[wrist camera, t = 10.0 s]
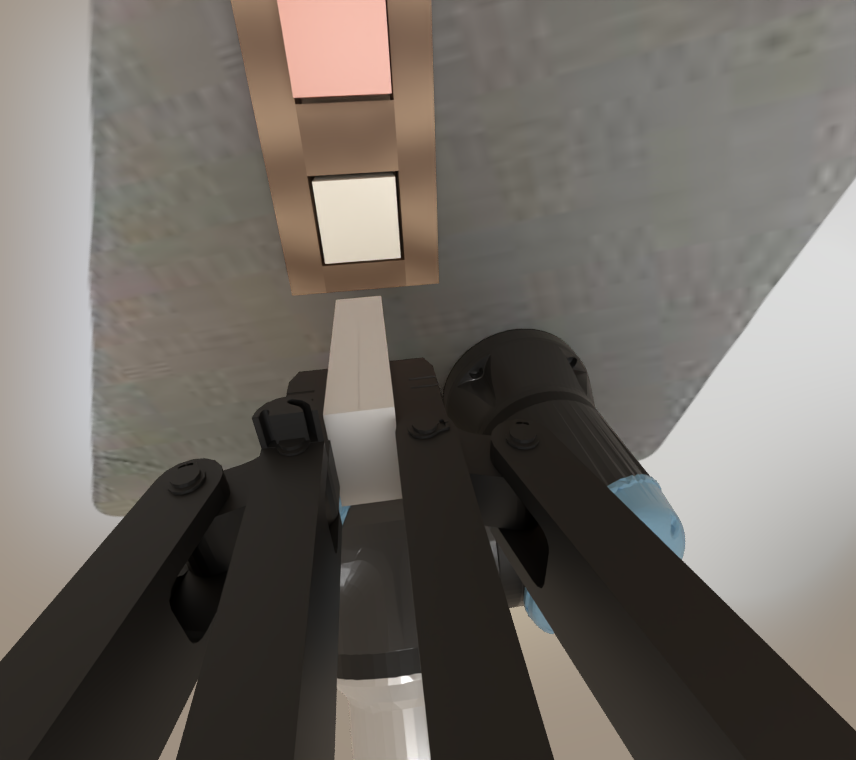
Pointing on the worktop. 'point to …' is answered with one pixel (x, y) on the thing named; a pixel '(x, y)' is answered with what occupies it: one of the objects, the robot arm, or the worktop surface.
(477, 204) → the worktop surface
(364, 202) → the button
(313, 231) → the mount
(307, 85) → the middle button
